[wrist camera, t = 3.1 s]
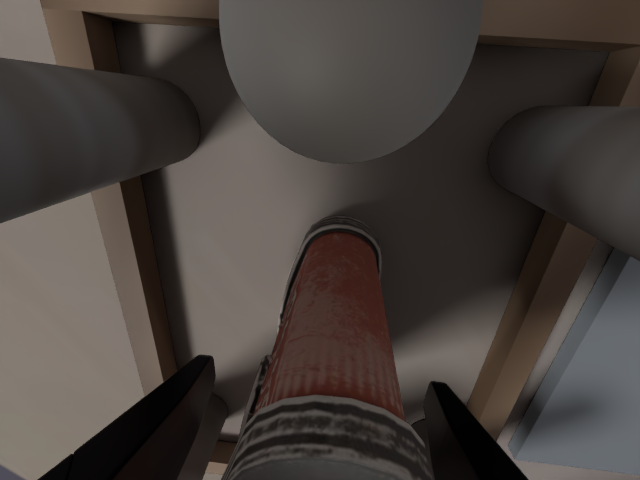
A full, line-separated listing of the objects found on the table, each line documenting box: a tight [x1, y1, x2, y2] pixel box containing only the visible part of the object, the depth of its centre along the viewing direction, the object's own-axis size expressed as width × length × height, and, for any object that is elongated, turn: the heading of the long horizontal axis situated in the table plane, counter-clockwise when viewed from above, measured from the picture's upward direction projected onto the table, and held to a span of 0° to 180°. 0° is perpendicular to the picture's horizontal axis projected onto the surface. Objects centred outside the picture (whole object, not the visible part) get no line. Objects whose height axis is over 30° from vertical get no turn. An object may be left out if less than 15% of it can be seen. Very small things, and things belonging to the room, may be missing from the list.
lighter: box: [221, 216, 432, 480], centre depth 7 cm, size 8×3×10 cm, turn 170°
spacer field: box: [0, 0, 640, 480], centre depth 9 cm, size 15×20×6 cm
